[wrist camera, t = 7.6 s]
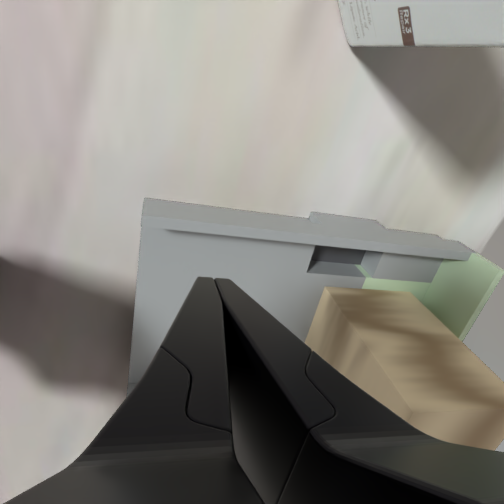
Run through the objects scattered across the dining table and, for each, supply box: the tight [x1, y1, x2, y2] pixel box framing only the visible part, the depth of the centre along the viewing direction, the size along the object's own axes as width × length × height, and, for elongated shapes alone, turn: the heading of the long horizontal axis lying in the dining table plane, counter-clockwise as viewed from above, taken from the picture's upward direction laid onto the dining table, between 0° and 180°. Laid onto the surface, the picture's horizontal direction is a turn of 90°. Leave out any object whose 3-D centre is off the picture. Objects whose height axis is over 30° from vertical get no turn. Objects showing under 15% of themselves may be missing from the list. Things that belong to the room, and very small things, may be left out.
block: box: [305, 286, 504, 451], centre depth 22 cm, size 7×5×10 cm
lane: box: [127, 198, 504, 396], centre depth 24 cm, size 21×14×6 cm, turn 78°
